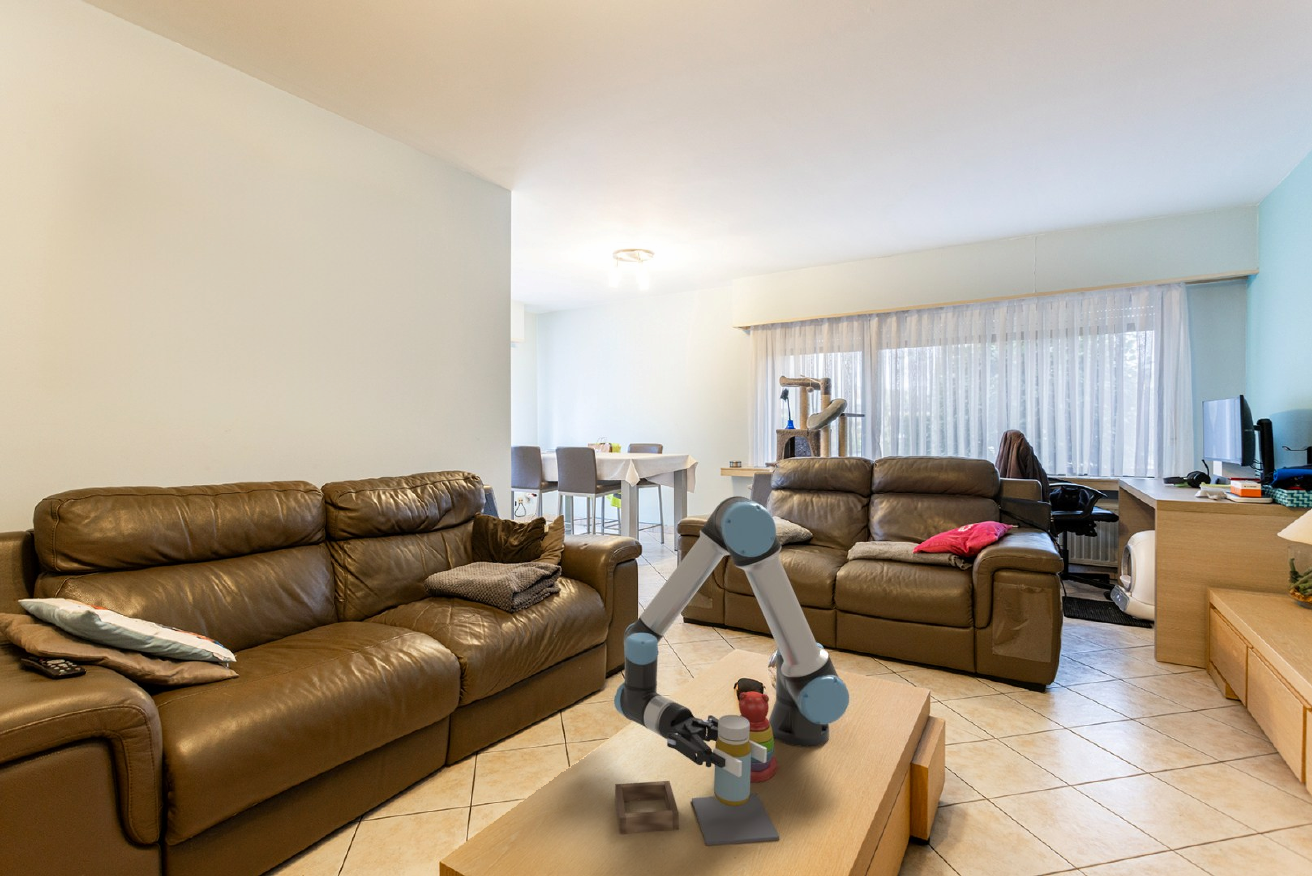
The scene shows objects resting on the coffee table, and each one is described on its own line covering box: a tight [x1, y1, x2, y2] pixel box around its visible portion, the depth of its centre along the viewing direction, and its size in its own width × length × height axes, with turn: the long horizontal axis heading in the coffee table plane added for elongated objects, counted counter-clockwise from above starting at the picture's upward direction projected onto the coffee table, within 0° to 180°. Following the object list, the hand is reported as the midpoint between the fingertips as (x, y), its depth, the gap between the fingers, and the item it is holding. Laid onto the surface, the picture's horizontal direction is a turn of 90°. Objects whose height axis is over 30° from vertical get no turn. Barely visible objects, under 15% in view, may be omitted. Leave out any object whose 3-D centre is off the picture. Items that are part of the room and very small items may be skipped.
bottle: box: [713, 714, 751, 806], centre depth 124 cm, size 7×7×15 cm
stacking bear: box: [738, 691, 778, 783], centre depth 142 cm, size 11×10×18 cm
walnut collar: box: [614, 780, 680, 835], centre depth 125 cm, size 11×11×3 cm
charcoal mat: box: [691, 793, 780, 846], centre depth 124 cm, size 14×14×1 cm
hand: (753, 762), depth 120 cm, fingers closed on bottle, 7 cm apart
